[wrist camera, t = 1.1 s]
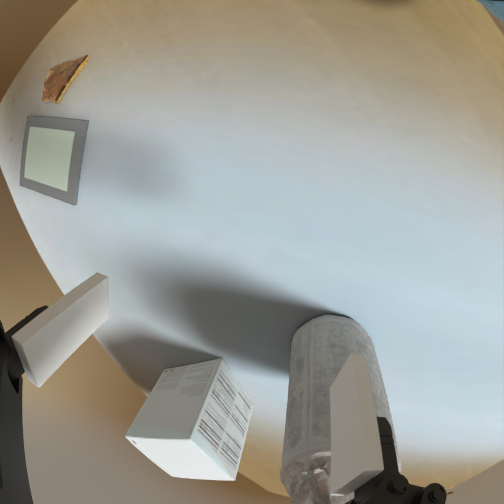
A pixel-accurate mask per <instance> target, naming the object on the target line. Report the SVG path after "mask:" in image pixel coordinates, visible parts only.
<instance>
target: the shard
mask: <svg viewBox="0 0 504 504" xmlns="http://www.w3.org/2000/svg"><path fill="white" fill-rule="evenodd" d="M88 59H89V57H88V55H87V56H84V57H80V58H78V59H76V60H72V61H68V62H66V63H62V64H60V65H57V66H55V67H54V68H52V69H50V70H49V71H48V74H47V76H46V79H45V84H44V91H43V97H42V101H43V102H48V101H53V102H55V103H56V104H59V103H60V102H61V99H62V97H63V95H64V93H65V92H66V90H67V89H68V87H69V86H70V85H71V83H72V82H73V81H74V79H75V78H76V76H77V75H78V74H79V72H80V71H81V70H82V68H83V67H84V66H85V64H86V62H87V61H88Z"/></svg>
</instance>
